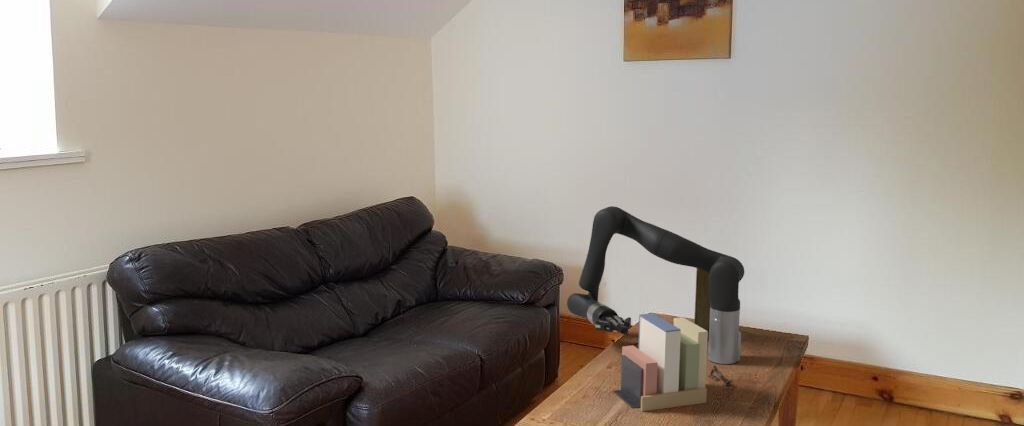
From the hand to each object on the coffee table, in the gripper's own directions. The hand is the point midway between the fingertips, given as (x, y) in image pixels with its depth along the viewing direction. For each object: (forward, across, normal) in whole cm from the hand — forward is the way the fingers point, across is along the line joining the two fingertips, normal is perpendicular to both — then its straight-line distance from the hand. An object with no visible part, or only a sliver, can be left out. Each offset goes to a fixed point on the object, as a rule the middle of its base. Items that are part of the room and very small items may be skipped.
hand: (625, 331), depth 264 cm
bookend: (+22, -10, +12) cm, 27 cm away
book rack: (+23, 0, +13) cm, 26 cm away
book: (-24, +42, +13) cm, 50 cm away
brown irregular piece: (+19, +22, +13) cm, 32 cm away
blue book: (+22, -1, +13) cm, 26 cm away
